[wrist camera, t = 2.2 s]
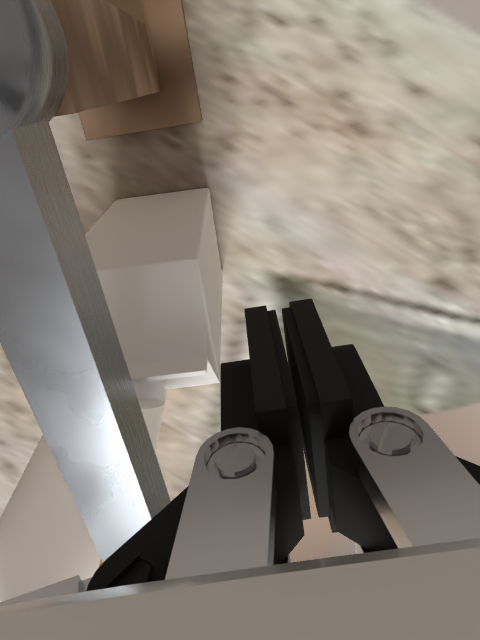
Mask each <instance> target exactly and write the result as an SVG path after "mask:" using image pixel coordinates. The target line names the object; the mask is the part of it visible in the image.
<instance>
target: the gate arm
mask: <svg viewBox="0 0 480 640" xmlns="http://www.w3.org/2000/svg"><path fill="white" fill-rule="evenodd" d="M68 78H69V55H68V47H67V43H66V39H65V35H64V32H63V29H62V26H61V23H60V21H59V18H58V16H57V14H56V12H55V10H54V8H53V6H52V5H51V3H50V1H49V0H0V343H1V345H2V347H3V349H4V351H5V353H6V356H7V358H8V360H9V362H10V364H11V366H12V368H13V371H14V373H15V375H16V377H17V379H18V381H19V383H20V386H21V388H22V390H23V392H24V394H25V396H26V399H27V401H28V403H29V405H30V407H31V409H32V411H33V414H34V416H35V418H36V420H37V422H38V424H39V426H40V429H41V431H42V433H43V435H44V437H45V439H46V441H47V444H48V446H49V448H50V450H51V452H52V454H53V456H54V459H55V461H56V463H57V465H58V467H59V469H60V471H61V474H62V476H63V478H64V480H65V482H66V484H67V486H68V489H69V491H70V493H71V495H72V497H73V499H74V502H75V504H76V506H77V508H78V510H79V512H80V514H81V517H82V519H83V521H84V523H85V525H86V527H87V529H88V532H89V534H90V536H91V538H92V540H93V542H94V544H95V547H96V549H97V551H98V553H99V555H100V557H101V560H100V564H99V567H100V566H101V565H102V563H103V562H104V561H105V560H106V559H107V558H108V557H109V556H111V555H112V554H113V553H114V552H115V551H116V550H117V549H118V548H120V547H121V546H122V545H123V544H124V543H125V542H126V541H127V540H129V539H130V538H131V537H132V536H133V535H134V534H135V533H136V532H138V531H139V530H140V529H141V528H142V527H143V526H144V525H145V524H147V523H148V522H149V521H150V520H151V519H152V518H153V517H154V516H156V515H157V514H158V513H159V512H160V511H161V510H162V509H163V508H165V507H166V506H167V505H168V504H169V503H170V502H171V501H170V498H169V495H168V492H167V488H166V485H165V482H164V479H163V476H162V473H161V470H160V467H159V464H158V461H157V457H156V454H155V451H154V448H153V445H152V442H151V439H150V436H149V433H148V429H147V426H146V423H145V420H144V417H143V414H142V411H141V408H140V405H139V402H138V398H137V395H136V392H135V389H134V386H133V383H132V380H131V377H130V374H129V370H128V367H127V364H126V361H125V358H124V355H123V352H122V349H121V346H120V342H119V339H118V336H117V333H116V330H115V327H114V324H113V321H112V318H111V315H110V311H109V308H108V305H107V302H106V299H105V296H104V293H103V290H102V287H101V283H100V280H99V277H98V274H97V271H96V268H95V265H94V262H93V259H92V256H91V252H90V249H89V246H88V243H87V240H86V237H85V234H84V231H83V228H82V224H81V221H80V218H79V215H78V212H77V209H76V206H75V203H74V200H73V197H72V193H71V190H70V187H69V184H68V181H67V178H66V175H65V172H64V169H63V165H62V162H61V159H60V156H59V153H58V150H57V147H56V144H55V141H54V138H53V134H52V131H51V128H50V125H49V121H50V120H51V119H52V118H53V117H54V115H55V114H56V112H57V111H58V109H59V108H60V106H61V104H62V101H63V99H64V96H65V93H66V89H67V85H68Z"/></svg>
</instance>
